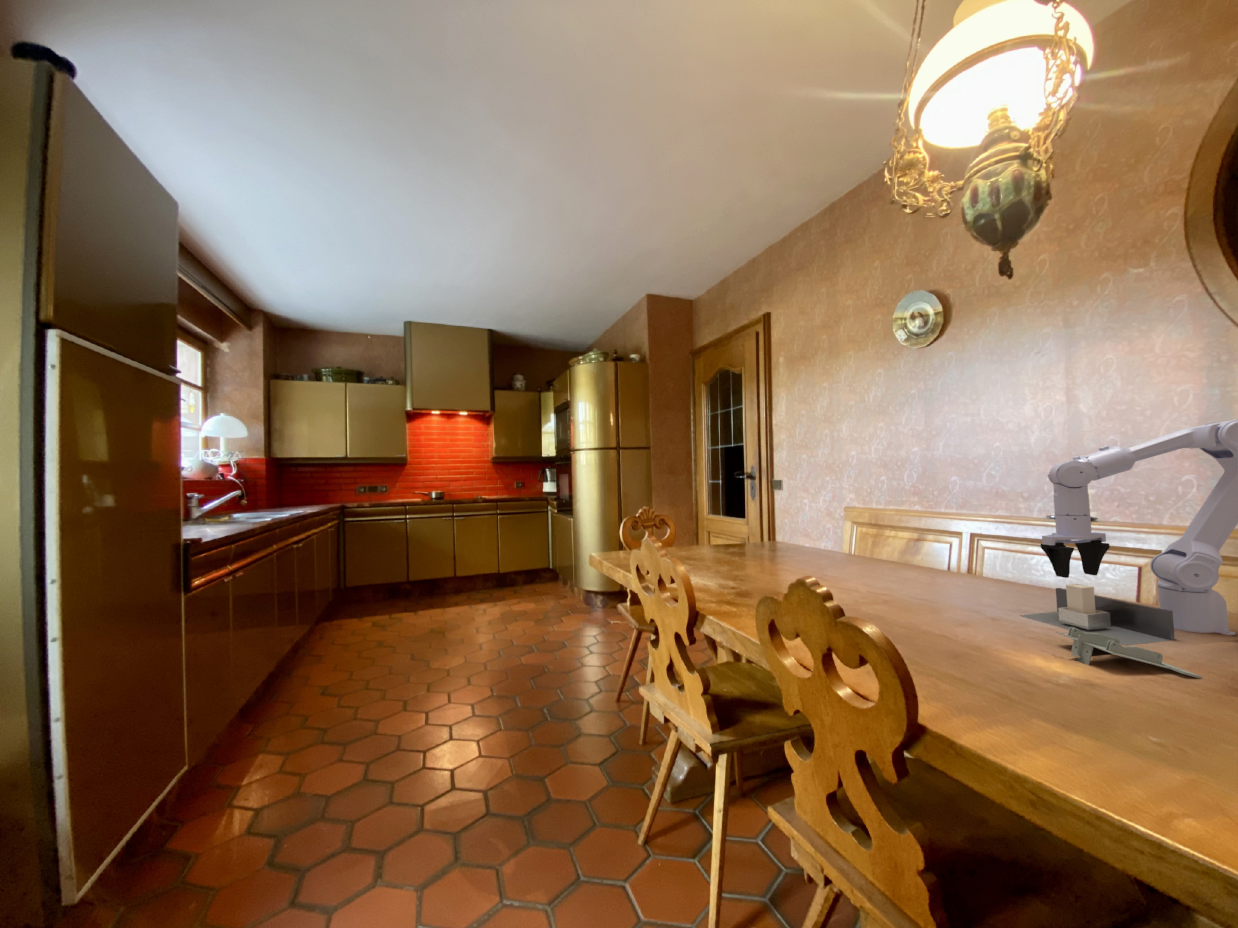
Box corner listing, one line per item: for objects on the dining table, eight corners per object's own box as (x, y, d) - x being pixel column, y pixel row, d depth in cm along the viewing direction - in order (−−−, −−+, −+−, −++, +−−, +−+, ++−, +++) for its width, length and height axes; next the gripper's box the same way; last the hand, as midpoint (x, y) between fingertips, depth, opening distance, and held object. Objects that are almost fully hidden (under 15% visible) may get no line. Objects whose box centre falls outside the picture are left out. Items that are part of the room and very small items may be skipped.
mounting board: (1063, 615, 109) (1062, 611, 109) (1177, 644, 89) (1176, 639, 89) (1019, 619, 107) (1018, 615, 107) (1125, 650, 87) (1125, 645, 87)
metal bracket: (1121, 645, 76) (1044, 617, 91) (1113, 679, 76) (1037, 646, 91) (1214, 669, 75) (1120, 637, 90) (1206, 704, 75) (1113, 666, 90)
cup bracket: (1060, 611, 109) (1059, 587, 109) (1174, 639, 89) (1172, 610, 89) (1025, 614, 107) (1023, 590, 107) (1133, 644, 87) (1130, 614, 88)
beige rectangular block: (1080, 618, 100) (1077, 583, 100) (1096, 622, 97) (1093, 586, 97) (1068, 619, 99) (1065, 584, 100) (1084, 624, 97) (1081, 587, 97)
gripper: (1079, 512, 109) (1083, 570, 109) (1026, 515, 107) (1030, 574, 107) (1115, 514, 102) (1119, 576, 102) (1059, 517, 100) (1064, 580, 100)
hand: (1076, 575), depth 104 cm, fingers open, 7 cm apart
